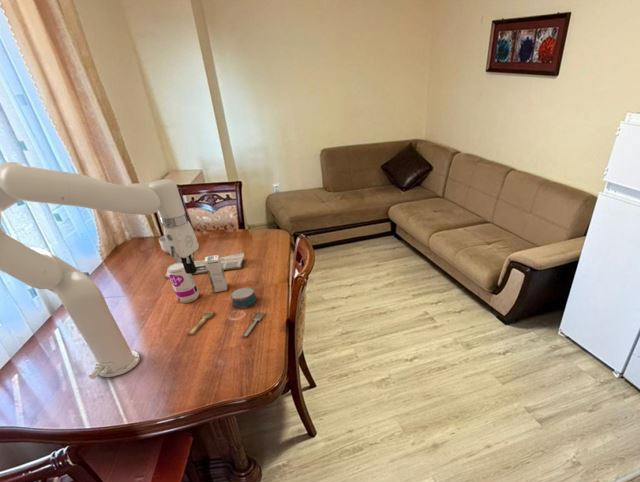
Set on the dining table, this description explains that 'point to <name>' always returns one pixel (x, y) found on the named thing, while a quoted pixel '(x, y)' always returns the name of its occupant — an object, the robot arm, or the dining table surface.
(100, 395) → the dining table surface
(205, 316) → the spoon
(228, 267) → the newspaper
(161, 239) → the teacup
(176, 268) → the supplement can
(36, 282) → the robot arm
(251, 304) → the tin
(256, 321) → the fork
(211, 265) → the syrup box
